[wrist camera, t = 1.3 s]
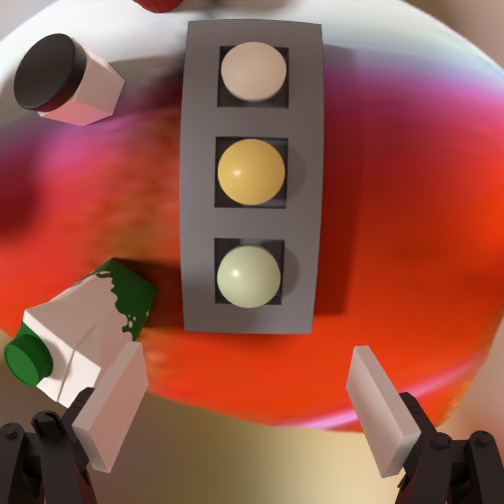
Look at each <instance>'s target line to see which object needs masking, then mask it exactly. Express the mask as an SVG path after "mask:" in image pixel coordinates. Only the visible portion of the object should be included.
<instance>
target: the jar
mask: <svg viewBox="0 0 504 504" xmlns="http://www.w3.org/2000/svg"><path fill="white" fill-rule="evenodd" d="M124 83H125V81H124V80H123V79H122V78H121V76H120V75H119V74H118V73H117V72H116V71H115V70H114V69H113V68H112V67H111V66H110V65H109V64H108V63H107V62H106V61H105V60H103V59H102V58H101V57H99V56H98V55H96V54H95V53H94V52H92V51H91V50H89V49H88V48H87V47H85V46H84V45H82V44H81V43H80V42H78V41H77V40H75V39H74V38H70V37H69V36H67V35H65V34H60V33H58V34H52V35H49V36H46V37H44V38H43V39H41V40H40V41H38V42H37V43H36V44H35V45H33V46H32V47H31V48H30V50H29V51H28V52H27V53H26V55H25V56H24V58H23V59H22V61H21V63H20V65H19V67H18V69H17V72H16V75H15V79H14V95H15V98H16V101H17V102H18V104H19V105H20V106H21V107H23V108H25V109H29V110H33V111H37V112H38V113H39V115H40V116H41V117H44V118H49V119H53V120H58V121H62V122H66V123H70V124H74V125H78V126H86V125H88V124H90V123H93V122H96V121H98V120H101V119H103V118H106V117H109V116H111V115H113V112H114V109H115V107H116V104H117V101H118V99H119V96H120V93H121V91H122V88H123V86H124Z"/></svg>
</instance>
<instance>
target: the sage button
mask: <svg viewBox="0 0 504 504" xmlns="http://www.w3.org/2000/svg"><path fill="white" fill-rule="evenodd" d="M217 280H218V286H219V289H220V291H221V293H222V294H223V296H224V297H225V298H226V299H227V300H228V301H229V302H231V303H233V304H234V305H237V306H239V307H244V308H254V307H258V306H261V305H264V304H265V303H267V302H268V301H270V300H271V299H272V298H273V297H274V295H275V294H276V292H277V291H278V288H279V285H280V271H279V268H278V264H277V262H276V259H275V258H274V256H273V255H272V254H271V253H270V252H269V251H268V250H267V249H265V248H264V247H262V246H259V245H256V244H242V245H239V246H236V247H234V248H233V249H231V250H230V251H229V252H228V253H227V254H226V255H225V256H224V258H223V259H222V261H221V264H220V267H219V270H218V276H217Z"/></svg>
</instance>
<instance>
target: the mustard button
mask: <svg viewBox="0 0 504 504" xmlns="http://www.w3.org/2000/svg"><path fill="white" fill-rule="evenodd" d="M284 176H285V168H284V163H283V160H282V158H281V156H280V154H279V153H278V152H277V150H276V149H275V148H274V147H273V146H271V145H270V144H268V143H266V142H264V141H261V140H257V139H246V140H242V141H239V142H236V143H235V144H233V145H231V146H230V147H229V148H228V149H227V150H226V151H225V152H224V154H223V155H222V157H221V159H220V162H219V165H218V178H219V182H220V185H221V187H222V189H223V190H224V192H225V193H226V194H227V195H228V196H229V197H230V198H232V199H233V200H235V201H237V202H239V203H242V204H246V205H256V204H261V203H264V202H266V201H268V200H270V199H271V198H272V197H274V196H275V195H276V194H277V192H278V191H279V190H280V188H281V186H282V184H283V181H284Z"/></svg>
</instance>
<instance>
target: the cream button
mask: <svg viewBox="0 0 504 504" xmlns="http://www.w3.org/2000/svg"><path fill="white" fill-rule="evenodd" d="M221 73H222V77H223V81H224V84H225V86H226V88H227V90H228V91H229V92H230V93H231V94H232V95H233V96H234V97H236V98H237V99H240V100H242V101H245V102H252V103H255V102H262V101H266V100H268V99H270V98H272V97H273V96H274V95H276V94H277V93H278V91H279V90H280V89H281V87H282V85H283V82H284V79H285V76H286V64H285V61H284V59H283V57H282V55H281V54H280V53H279V52H278V51H277V50H276V49H275V48H273V47H271V46H269V45H267V44H264V43H260V42H247V43H243V44H240V45H238V46H236V47H234V48H233V49H231V50H230V51H229V52H228V53H227V55H226V56H225V58H224V60H223V62H222V67H221Z"/></svg>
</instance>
